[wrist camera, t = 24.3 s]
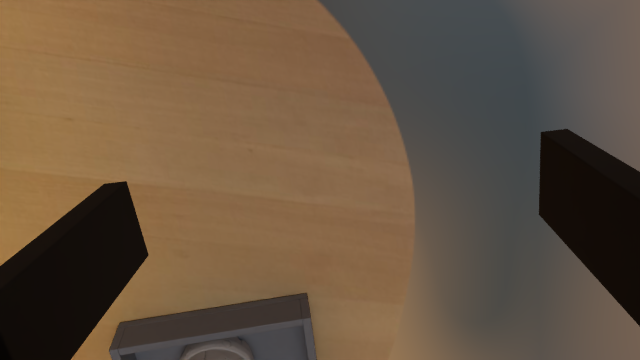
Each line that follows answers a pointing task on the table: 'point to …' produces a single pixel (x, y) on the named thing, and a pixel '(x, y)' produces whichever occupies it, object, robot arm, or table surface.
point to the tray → (223, 331)
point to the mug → (218, 350)
